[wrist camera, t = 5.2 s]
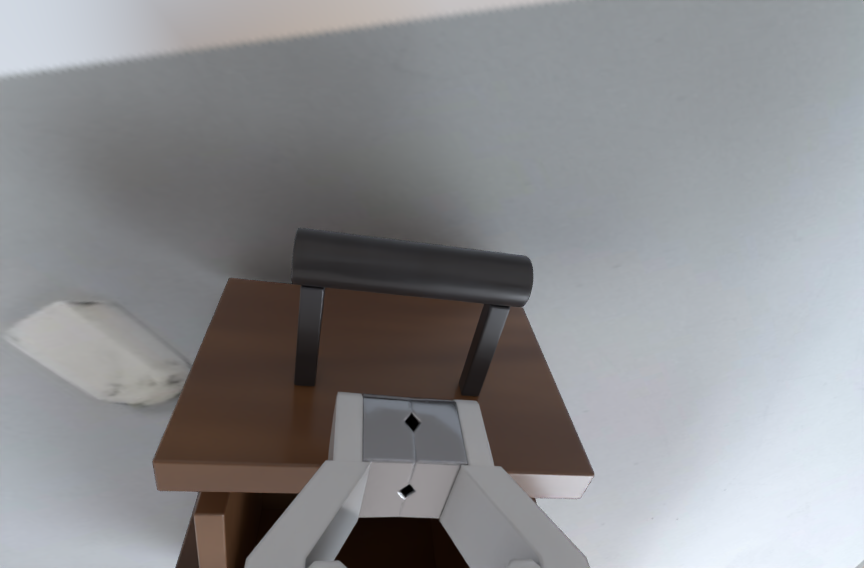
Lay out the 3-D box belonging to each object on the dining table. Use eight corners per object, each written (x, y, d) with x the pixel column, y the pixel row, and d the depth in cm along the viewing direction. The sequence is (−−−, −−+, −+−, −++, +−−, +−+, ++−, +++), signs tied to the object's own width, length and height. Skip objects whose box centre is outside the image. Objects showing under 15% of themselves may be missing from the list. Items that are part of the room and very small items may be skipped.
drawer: (224, 144, 15) (120, 290, 9) (564, 196, 17) (678, 342, 11) (234, 495, 25) (189, 684, 19) (450, 499, 27) (476, 668, 21)
